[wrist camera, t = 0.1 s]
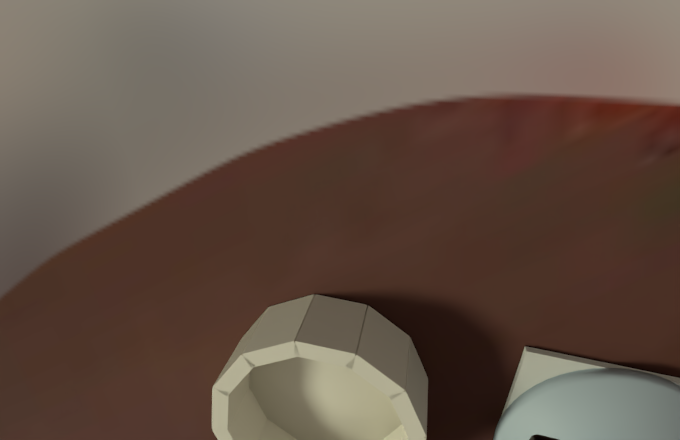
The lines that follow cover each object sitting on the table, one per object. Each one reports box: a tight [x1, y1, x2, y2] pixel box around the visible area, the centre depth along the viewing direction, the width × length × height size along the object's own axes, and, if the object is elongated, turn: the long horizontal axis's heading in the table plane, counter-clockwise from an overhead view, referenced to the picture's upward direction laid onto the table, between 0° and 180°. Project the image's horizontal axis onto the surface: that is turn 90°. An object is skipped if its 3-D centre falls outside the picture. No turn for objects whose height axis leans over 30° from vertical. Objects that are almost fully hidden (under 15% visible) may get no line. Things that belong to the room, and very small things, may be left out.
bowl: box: [212, 294, 428, 440], centre depth 25 cm, size 10×10×4 cm
